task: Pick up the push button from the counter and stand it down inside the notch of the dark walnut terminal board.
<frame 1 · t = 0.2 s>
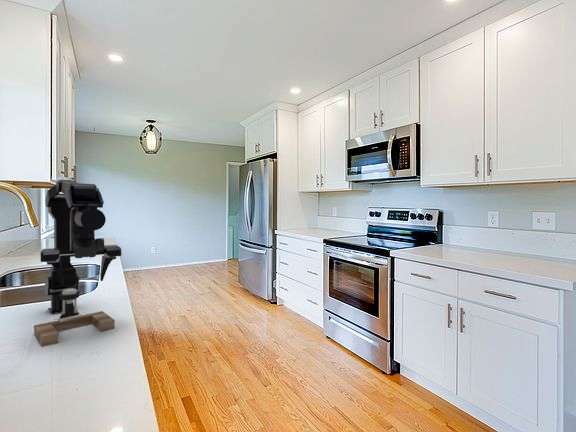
hand: (82, 283, 89), 14 cm above the countertop, tool pointing down, fingers open, 9 cm apart
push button: (67, 323, 96), on the countertop
notched board: (75, 331, 90), on the countertop
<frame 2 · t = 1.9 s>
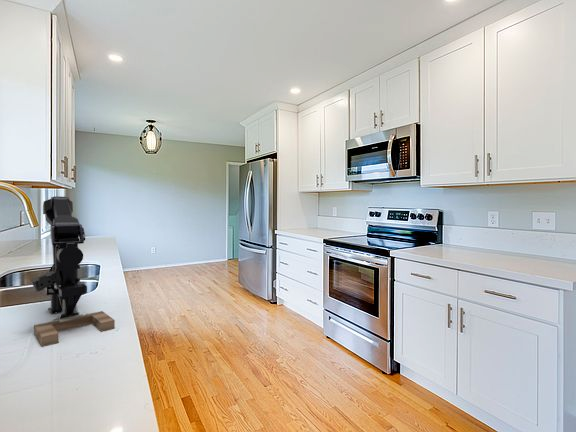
hand: (67, 312, 96), 3 cm above the countertop, tool pointing down, fingers open, 5 cm apart
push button: (67, 323, 96), on the countertop, touching gripper
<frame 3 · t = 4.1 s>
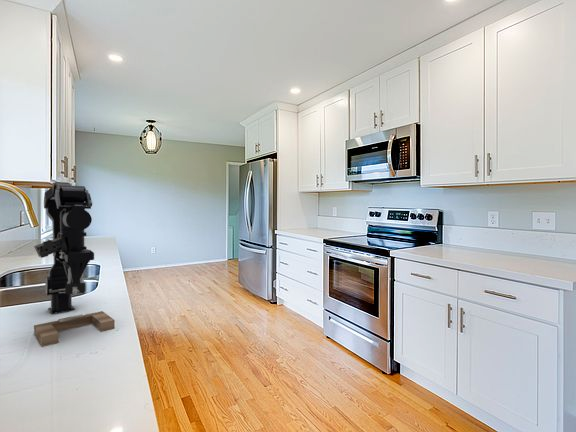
hand: (73, 283, 90), 14 cm above the countertop, tool pointing down, fingers closed on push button, 4 cm apart
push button: (73, 294, 91), point 10 cm above the countertop, touching gripper
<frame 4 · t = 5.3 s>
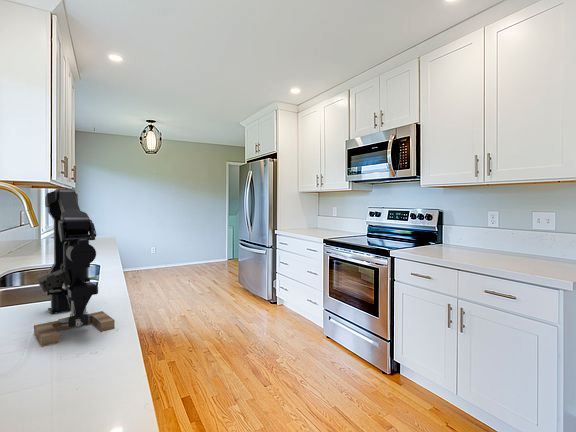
hand: (76, 315, 89), 5 cm above the countertop, tool pointing down, fingers closed on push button, 4 cm apart
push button: (76, 326, 89), point 2 cm above the countertop, touching gripper
when the fingers open (4 cm above the countertop, at t = 6.0 s): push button drops 1 cm, on the countertop.
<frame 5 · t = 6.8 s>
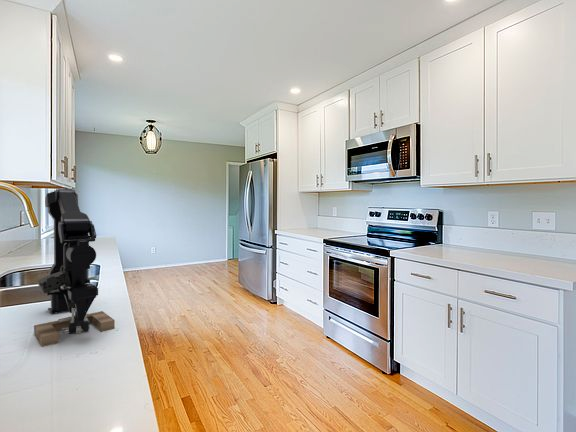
hand: (76, 316, 89), 4 cm above the countertop, tool pointing down, fingers open, 9 cm apart
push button: (76, 332, 89), on the countertop
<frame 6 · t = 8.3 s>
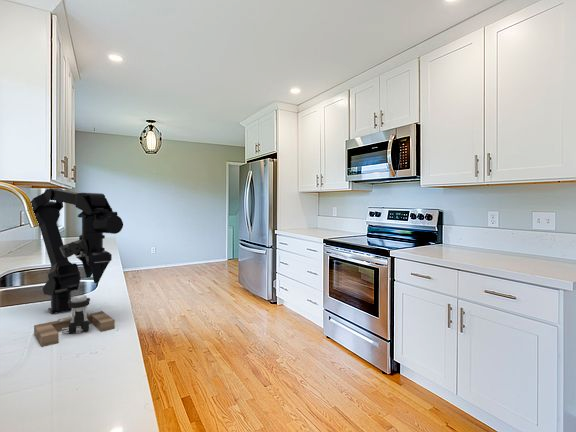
hand: (92, 280, 101), 12 cm above the countertop, tool pointing down, fingers open, 9 cm apart
nothing on the countertop moved.
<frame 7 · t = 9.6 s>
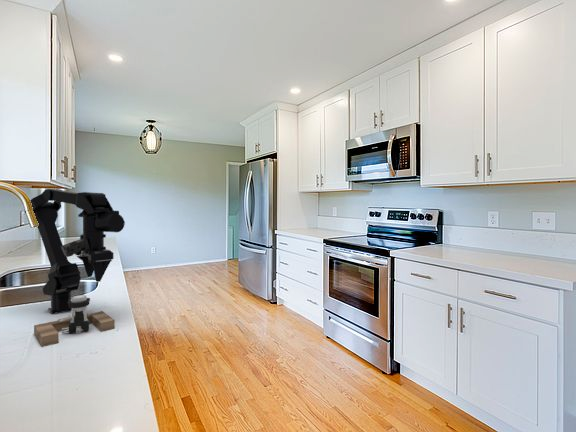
hand: (93, 279, 102), 12 cm above the countertop, tool pointing down, fingers open, 9 cm apart
nothing on the countertop moved.
at the end: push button 0.1 cm from the target spot on the notched board, point 0.0 cm above the notched board's base; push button tilted 0°; the gripper is holding nothing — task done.
